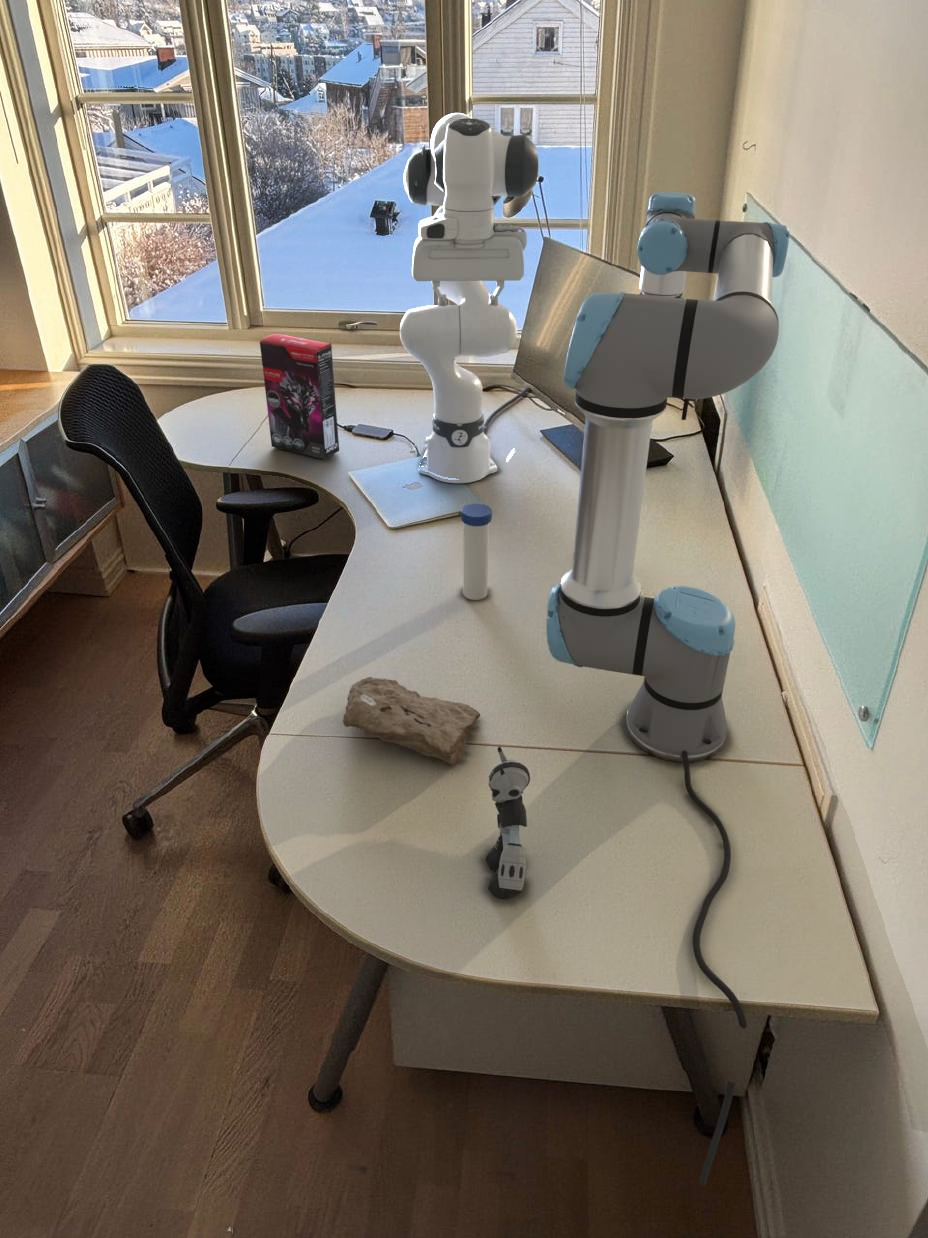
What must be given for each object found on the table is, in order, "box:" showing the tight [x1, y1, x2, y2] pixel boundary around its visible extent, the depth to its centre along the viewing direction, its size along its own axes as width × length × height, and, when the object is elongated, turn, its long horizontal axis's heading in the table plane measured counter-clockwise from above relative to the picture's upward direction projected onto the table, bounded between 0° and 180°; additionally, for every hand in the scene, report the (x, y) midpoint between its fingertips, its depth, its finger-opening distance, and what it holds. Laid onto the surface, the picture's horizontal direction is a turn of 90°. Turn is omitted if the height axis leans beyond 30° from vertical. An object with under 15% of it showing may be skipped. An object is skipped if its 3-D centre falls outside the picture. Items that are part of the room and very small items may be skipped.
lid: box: [460, 502, 493, 526], centre depth 166 cm, size 6×6×2 cm
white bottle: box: [462, 523, 490, 601], centre depth 171 cm, size 5×5×17 cm
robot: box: [485, 746, 531, 899], centre depth 114 cm, size 20×5×20 cm, turn 3°
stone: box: [342, 676, 481, 766], centre depth 140 cm, size 21×15×6 cm
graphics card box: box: [259, 333, 340, 460], centre depth 223 cm, size 17×7×27 cm, turn 62°
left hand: (467, 305), depth 169 cm, fingers open, 8 cm apart
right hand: (646, 413), depth 167 cm, fingers open, 13 cm apart
